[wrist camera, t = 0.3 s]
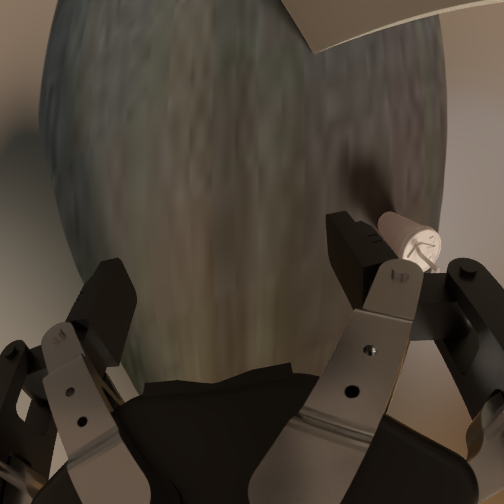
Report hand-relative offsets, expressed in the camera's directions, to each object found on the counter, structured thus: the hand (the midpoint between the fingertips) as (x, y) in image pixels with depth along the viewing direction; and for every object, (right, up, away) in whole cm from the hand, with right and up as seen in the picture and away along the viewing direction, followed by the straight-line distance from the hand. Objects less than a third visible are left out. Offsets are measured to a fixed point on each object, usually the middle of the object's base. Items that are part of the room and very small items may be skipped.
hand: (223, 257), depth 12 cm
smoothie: (+21, +5, +32) cm, 39 cm away
